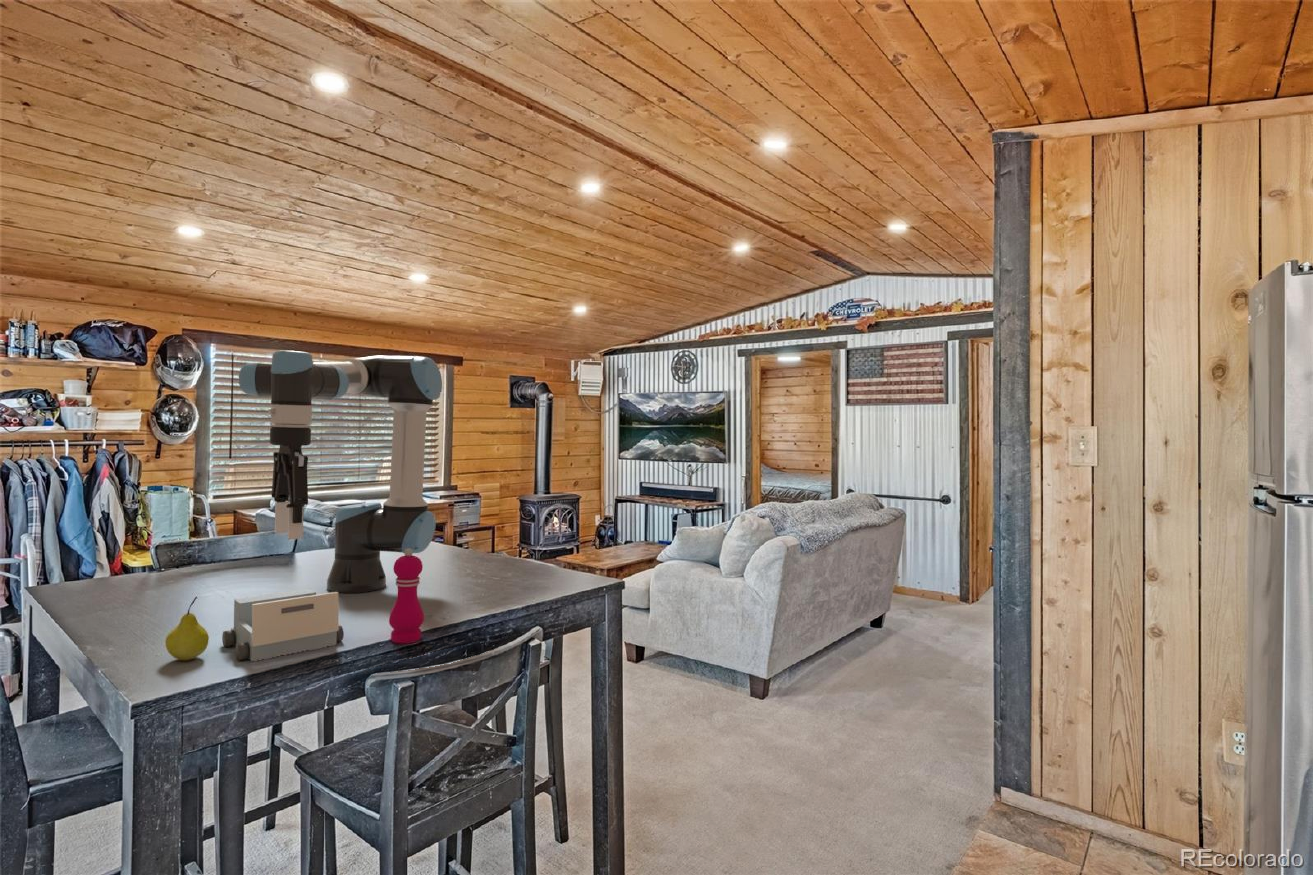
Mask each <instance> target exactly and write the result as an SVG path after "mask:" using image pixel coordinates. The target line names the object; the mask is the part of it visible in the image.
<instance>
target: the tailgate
mask: <svg viewBox="0 0 1313 875" xmlns="http://www.w3.org/2000/svg"><path fill="white" fill-rule="evenodd" d="M339 626H340V624H339V592H333V591H331V592H327V593H325V592H324V593H320V594H316V595H312V596H305V597H298V598H291V599H284V600H278V601H271V602H264V603H257V604H252V646H259V645H264V644H269V643H275V642H280V641H286V640H291V639H296V638H302V637H307V636H313V635H318V634H323V633H329V632H334V631H339Z"/></svg>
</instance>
